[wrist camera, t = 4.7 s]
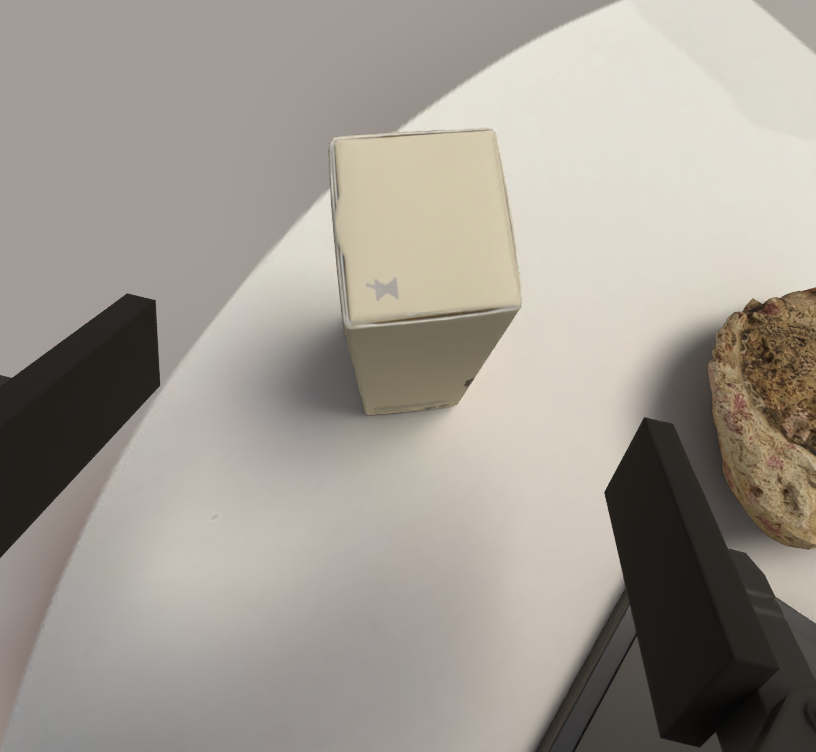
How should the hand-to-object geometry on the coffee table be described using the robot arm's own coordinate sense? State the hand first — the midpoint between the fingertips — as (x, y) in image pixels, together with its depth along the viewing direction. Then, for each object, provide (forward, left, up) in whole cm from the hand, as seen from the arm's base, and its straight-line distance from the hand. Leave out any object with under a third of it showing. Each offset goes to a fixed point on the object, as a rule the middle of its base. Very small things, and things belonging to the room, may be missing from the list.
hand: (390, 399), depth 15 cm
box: (-1, +4, -10) cm, 11 cm away
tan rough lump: (+15, +11, -10) cm, 21 cm away
